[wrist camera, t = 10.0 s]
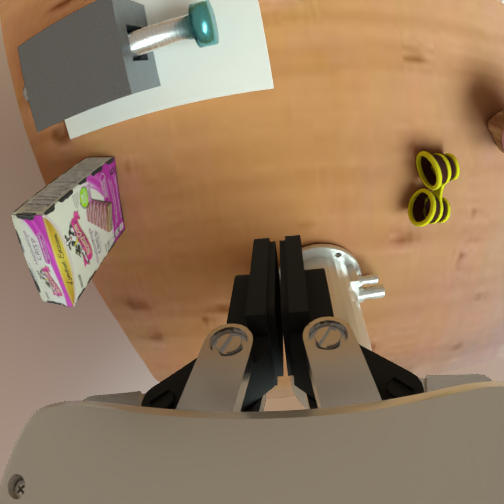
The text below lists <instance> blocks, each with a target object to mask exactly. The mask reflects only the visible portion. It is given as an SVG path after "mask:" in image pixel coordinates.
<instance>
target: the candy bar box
mask: <svg viewBox="0 0 504 504" xmlns="http://www.w3.org/2000/svg"><path fill="white" fill-rule="evenodd" d="M11 217H12V220H13V224H14V227H15V230H16V233H17V236H18V239H19V242H20V245H21V248H22V251H23V254H24V256H25V259H26V261H27V264H28V267H29V269H30V272H31V274H32V277H33V280H34V282H35V285H36V287H37V290H38V292H39V294H40V296H41V299H42V301H44V302H49V303H54V304H59V305H61V304H62V305H64V306H68V307H74V306H75V304H76V302H77V301H78V299H79V297H80V296H81V294H82V293H83V291H84V289H85V288H86V286H87V284H88V283H89V281H90V280H91V278H92V277H93V275H94V274H95V272H96V271H97V269H98V268H99V266H100V264H101V263H102V261H103V260H104V258H105V257H106V256H107V254H108V252H109V251H110V250H111V248H112V247H113V245H114V244H115V242H116V241H117V240H118V238H119V237H120V235H121V234H122V233H123V231H124V230H125V225H124V220H123V214H122V208H121V203H120V195H119V188H118V181H117V174H116V165H115V157H91V158H85V159H83V160H82V161H80V162H79V163H77V164H76V165H74V166H73V167H72V168H70V169H69V170H67V171H66V172H65V173H63V174H62V175H60V176H59V177H58V178H56V179H55V180H54V181H52V182H51V183H49V184H48V185H47V186H46V187H44V188H43V189H42V190H40V191H39V192H38V193H37V194H35V195H34V196H33V197H32V198H30V199H29V200H28V201H26V202H25V203H24V204H22V205H21V206H20V207H19V208H18V209H17V210H15V211H14V212H13V213H12V214H11Z"/></svg>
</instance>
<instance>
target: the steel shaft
mask: <svg viewBox="0 0 504 504" xmlns="http://www.w3.org/2000/svg"><path fill="white" fill-rule="evenodd" d="M188 13H189V14H187V15H183V16H180V17H176V18H172V19H169V20H166V21H162V22H159V23H156V24H153V25H150V26H147V27H144V28H141V29H138V30H136V31H133V32H130V33H127V34H128V38H129V43H130V48H131V53H132V57H133V58H134V57H137V56H140V55H143V54H146V53H149V52H152V51H155V50H158V49H162V48H165V47H168V46H172V45H176V44H179V43H183V42H187V41H191V40H195V41H196V43H197V45H198V46H199V47H200V48H202V47H207V46H211V45H216V44H218V43H219V35H218V28H217V22H216V18H215V14H214V11H213V8H212V6H211V3H210V2H209V0H205V1H201V2H196V3H192V4H190V5H189V9H188ZM23 95H24V98H25V99H26V101H27V102H29V100H28V96H27V92H26V87H25V86H24V88H23Z"/></svg>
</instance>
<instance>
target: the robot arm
mask: <svg viewBox="0 0 504 504" xmlns="http://www.w3.org/2000/svg"><path fill="white" fill-rule="evenodd" d="M377 283H378V276H377V274H371V275H366V276H362V274H361V269H360V266H359V263H358V262H357V260H356V258H355V257H354V256H353V255H352V254H351V253H350V252H349V251H347V250H346V249H344V248H342V247H339V246H336V245H332V244H314V245H309V246H306V247H303V248H302V247H301V239H300V235H295V236H285V240H284V241H280V267H279V266H278V258H277V250H276V243H275V241H273V242H270V239H269V238H263V239H254V244H253V253H252V261H251V270H250V275H238V276H235V280H234V285H233V291H232V296H231V302H230V308H229V313H228V319H227V324H225V325H221V326H219V327H217V328H215V329H213V330H212V331H211V332H210V333H209V334H208V335H207V337H206V339H205V341H204V343H203V346H202V348H201V350H200V353H199V355H198V357H197V358H196V359H195V360H193V361H192V362H190V363H189V364H187V365H186V366H184V367H183V368H181V369H180V370H178V371H177V372H175V373H174V374H172V375H171V376H169V377H168V378H166V379H165V380H163V381H162V382H160V383H159V384H157V385H155V386H154V387H152V388H151V389H150V390H149V391H148V392H147V393H146V394H142V393H141V392H140V391H137V392H129V393H119V394H108V395H96V396H90V397H87V398H86V399H84V400H83V401H64V402H59V403H55V404H50V405H47V406H45V407H42V408H40V409H39V410H37V411H36V412H35V413H34V414H33V415H32V416H31V417H30V418H29V420H28V421H27V423H26V424H25V426H24V428H23V430H22V431H21V433H20V435H19V437H18V439H17V441H16V443H15V446H14V448H13V450H12V453H11V455H10V458H9V460H8V463H7V466H6V468H5V471H4V474H3V477H2V480H1V484H0V504H504V382H499V381H498V382H497V381H492V380H491V379H490V378H488V377H486V376H485V375H480V374H470V375H427V376H426V378H424V379H423V378H418V377H417V376H416V375H414V374H413V373H411V372H409V371H407V370H406V369H404V368H402V367H400V366H398V365H396V364H394V363H393V362H391V361H389V360H387V359H385V358H383V357H381V356H380V355H378V354H376V353H374V352H372V348H371V344H370V340H369V336H368V332H367V329H366V325H365V321H364V317H363V314H362V310H361V307H360V303H361V302H364V299H370V298H372V299H376V298H384V296H385V289H384V286H383V285H375V286H371V287H364V288H363V286H362V285H365V284H377ZM283 336H284V344H285V353H286V361H287V370H288V376H290V381H291V386H292V390H293V392H294V394H295V396H296V398H297V399H298V400H299V402H300V403H301V404H302V405H303V406H304V407H305V408H306V409H305V410H291V411H266V412H263V410H264V406H265V401H266V393H267V392H268V391H269V390H271V389H272V388H273V387H274V386H275V385H277V376H283Z"/></svg>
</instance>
